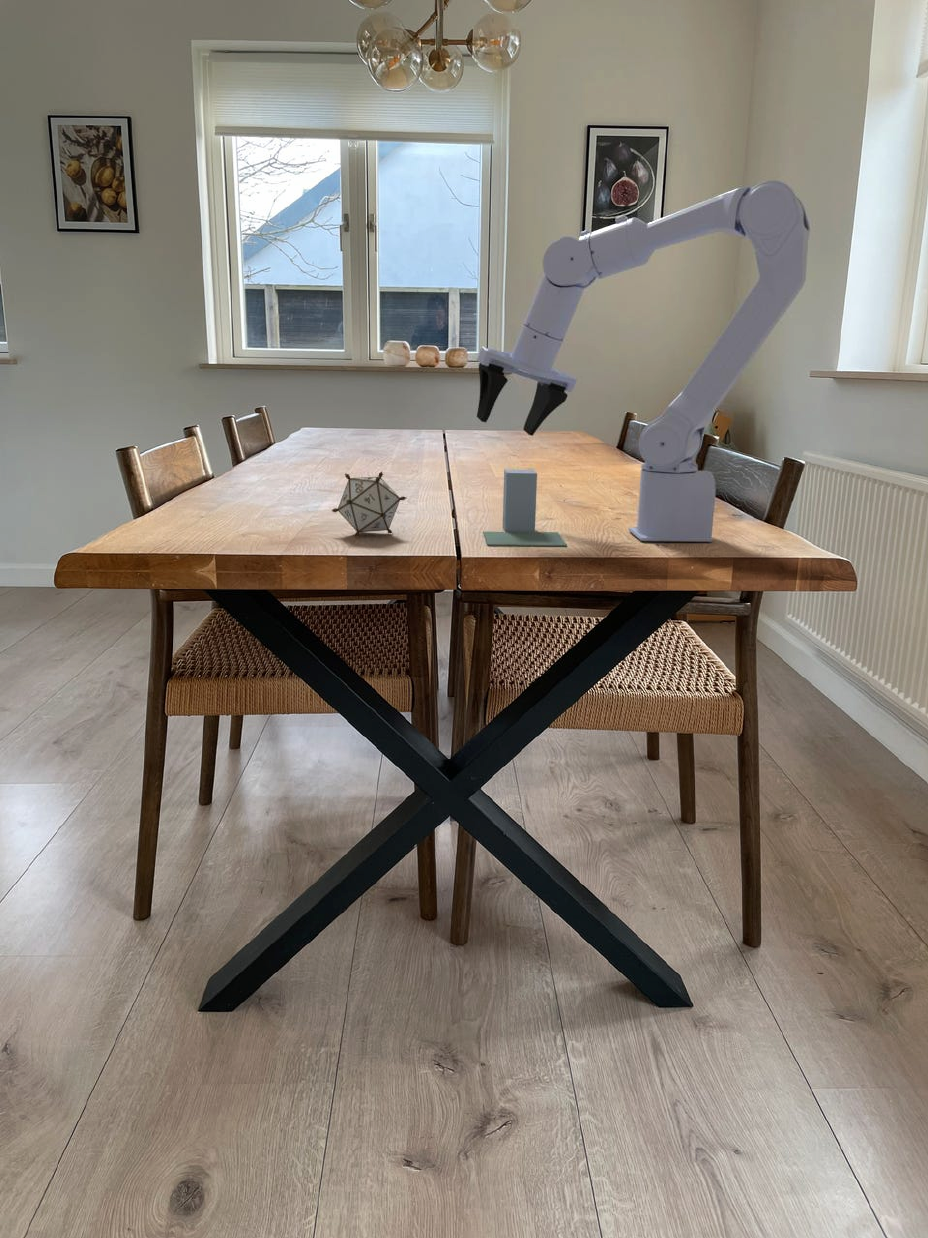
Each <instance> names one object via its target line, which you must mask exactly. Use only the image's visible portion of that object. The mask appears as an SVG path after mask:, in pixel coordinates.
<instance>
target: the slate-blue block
mask: <svg viewBox="0 0 928 1238" xmlns="http://www.w3.org/2000/svg"><path fill="white" fill-rule="evenodd" d="M537 484H538V473H537V471H535V469H511V468H510V469H507V468H506V469H504V470H503V497H502V498H503V499H502V529H503V532H504V531H505V532H536V511H537V510H536V509H537V487H538V485H537Z"/></svg>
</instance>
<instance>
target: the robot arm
mask: <svg viewBox="0 0 928 1238" xmlns="http://www.w3.org/2000/svg"><path fill="white" fill-rule="evenodd" d="M614 219H615V223H614V224H611V225H609V226H605V227H602V228H600V229H597V230H594V231H592V232H590V231H589V230H587V229H586V230H584V231H583V230H582V231H580V232H579V238H578V239H577V238H575V237H572V236H567V235H565V236H561V237H560V238H559V239H557V240H555V241H553V242H552V243H551V244H550V245H549V246H548V247H547V248H546V250H545V252H544V255H543V258H542V267H543V272H544V273H543V275H542V277H541V280H540V283H539V285H538V288H537V290H536V292H535V293H534V297H533V299H532V303H531V305H530V307H529V310H528V312H527V315H526V317H525V319H524V322H523V324H522V327H521V330H520V332H519V334H518V338H517V339H516V342H515V344H514V347H513V349H512V352H511V353H509V352H505V351H501V350H496V349H493V348H488V347H485V346H481V348H480V351H479V352H478V355H477V359H476V360H477V361H478V363H479V364H478V373H479V399H478V400H479V401H478V406H477V407H478V408H477V413H476V418H477V419H478V420H480V422H482V423H485V424H486V423H487V422H488V420H489V418H490V416H491V413H492V411H493V409H494V405H495V403H496V400H498V397H499V395H500V393H501V392H502V390H503V388H504V387H505V385H506V384H507V383H508V381H509V379H508V378H507V377H506V376H505V372H509V373H511V374H514V375H518V376H521V377H524V378H527V379H529V380H533V381H537V384H536V391H535V393H534V398H533V401H532V404H531V408H530V410H529V412H528V415H527V416H526V419H525V422H524V424H523V431H524V432H525V433H527V435H529V436H531V437H532V436H534V434H535V433H536V431H537V430H538V429H539V428H540V426H541V425H542V423H543V422H544V421H545V420H546V419H547V418H548V416H549V415H550V414H551V413H552V412H553V411H554V410H556V409H557V408H558V407H560V406H561V405H562V404H563V403H565V402H566V401H567V398H568V394H567V393H566V392H568V393H571V394H572V393H573V390H574V388H575V385H576V384H577V381H578V380H577V378H576V377H574V376H573V375H571V374H568V373H566V372H563V371H560V370H557V369H555V368H553V365H554V363H555V361H556V358H557V356H558V353H559V351H560V349H561V346H562V344H563V341H564V339H565V336H566V334H567V332H568V329H569V327H570V324H571V322H572V320H573V317H574V315H575V313H576V311H577V308H578V305H579V302H580V300H581V297H582V295H583V293H584V290H585V289H587V288H588V287H590V286H591V285H593V283H594V282H595V281H596V280H597V279H598V280H600V279H605V278H607V277H610V276H613V275H617V274H619V273H620V274H621V273H622V272H625V271H628V270H632V269H635V268H637V267H640V266H644V265H646V264H647V263H648V262H649V260H650V259H651V257H652V255H653V254H654V252H655V251H656V250H659V249H662V248H666V247H669V246H673V245H676V244H680V243H683V242H687V241H691V240H693V239H696V238H700V237H702V236H703V237H704V236H707V235H711V234H714V233H718V232H719V233H724V234H728V235H733V236H738V237H741V238H746V237H747V238H748V240H749V241H750V243H751V244H752V246H753V249H754V255H755V258H756V259H755V260H756V263H757V264H756V265H757V269H758V274H759V276H758V277H759V278H758V280H757V281H756V282H755V284H754V286H753V287H752V288H751V290H750V292H749V293H748V294H747V296H746V298H745V299H744V300H743V302H742V303H741V305H740V306H739V307H738V309H737V310H736V312H735V313H734V314H733V316H732V318H731V319H730V321H729V322H728V324H727V325H726V327H725V328H724V330H723V331H722V333H721V334H720V336H719V337H718V338H717V340H716V341H715V343H714V345H712V347H711V349H710V350H709V352H708V353H707V355H706V356H705V358H704V359H703V361H701V363H700V365H699V366H698V368H697V369H696V371H695V372H694V374H693V375H692V377H691V378H690V379H689V381H688V382H687V384H686V385H685V387H684V388H683V390H682V391H681V392H680V393H679V395H677V397H676V398H674V400H672V402H670V403H669V404H668V406H667V407H666V409H665V410H664V412H663V413H661V415H660V416H659V417H658V418H656V419H654V420H653V421H650V422H649V423H648V424H646V425H645V427H644V428H643V429H642V431H641V432H640V434H639V435H640V436H639V439H638V451H639V454H640V456H641V458H642V459H643V461H644V463H642V464H641V465H640V466H641V469H640V477H639V480H640V481H639V490H638V491H639V492H638V493H639V494H638V508H637V509H638V510H637V524H636V526H630V527H628V531H629V532H630V533H631V534H633V536H635V537H636V538H637V539H638V540H640V541H641V542H702V543H703V542H704V543H705V542H707V543H708V542H709V543H711V542H713V541H714V538H713V526H714V525H713V524H714V516H715V515H714V513H715V505H716V504H715V503H716V479H715V477H714V474H713V472H711V471H709V470H698V469H699V468H698V467H699V465H698V464H697V462H696V460H695V459H694V458H695V457H696V456H697V454H698V453H699V452H700V451H701V448H702V446H703V438H704V434H705V432H706V430H707V428H708V426H709V425H710V424H711V423H712V420H713V417H714V416H715V412H716V411H717V409H718V407H719V406H720V405H721V403H722V402H723V400H724V399H725V398H726V396H727V395H728V393H729V392H730V390H731V389H732V388H733V386H734V385H735V384H736V382H737V381H738V379H739V378H740V376H741V375H742V374H743V372H744V371H745V369H746V368H747V367H748V365H749V363H750V362H751V361H752V360H753V358H754V357H755V355H756V354H757V352H758V351H759V350H760V348H761V347H762V346H763V344H764V342H765V341H766V339H767V338H768V337H769V335H771V333H772V331H773V330H774V328H775V327H776V326H777V324H778V323H779V321H780V319H782V317H783V316H784V314H785V313H786V311H787V310H788V309H789V307H790V306H791V304H792V303H793V302H794V300H795V299H796V297H797V296H798V295H799V293H800V292H801V290H802V288H803V287H804V284H805V282H806V276H807V263H808V249H809V240H810V239H809V238H810V233H811V227H810V223H809V220H808V216H807V213H806V208H805V206H804V204H803V202H802V200H800V198H799V197H798V196H797V195H796V193H795V192H794V190H793V189H792V187H790V186H789V185H788V184H786V183H785V182H783V181H781V180H775V179H774V180H773V179H772V180H771V179H770V180H765V181H763V182H760V183H757V184H756V185H754V186H753V187H751V186H750V185H749V186H748V185H747V186H741V187H738V188H735V189H733V190H730V191H727V192H724V193H722V194H719V195H717V196H714V197H711V198H709V199H707V200H704V201H702V202H699V203H696V204H693V205H692V206H689V207H686V208H684V209H681V210H679V211H677V212H674V213H672V214H669V215H667V216H663V217H661V218H659V219H656V220H653V221H651V222H649V223H647V222H645V221H643V220H641V219H640V218H638V217H635V216H634V217H631V218H629V217H628V216H626V215H620V216H618V217H615V218H614ZM504 371H505V372H504Z"/></svg>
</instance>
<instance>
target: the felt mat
mask: <svg viewBox="0 0 928 1238" xmlns="http://www.w3.org/2000/svg"><path fill="white" fill-rule="evenodd" d="M483 534H484V535H483ZM482 535H483V538H484V537H485V538H484V539H485V540H486V541H485V540H484V541H485V543H486V546H487V547H561V548H562V547H568V544H567V542H565V540H564V539H563V537H562V536H561V535H560V534H559V532H557V531H555V532H554V531H553V532H552V531H549V532H548V531H535V532H504V531H482Z"/></svg>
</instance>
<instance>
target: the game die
mask: <svg viewBox="0 0 928 1238" xmlns="http://www.w3.org/2000/svg"><path fill="white" fill-rule="evenodd" d="M344 476H345V478H346V479H347V480H348V481H347V483H346V485H345V488H344V491H343V495H342V496H341V499H340V501H339V502H340V503H339V505H338V507H335V508H333V509H332V510H331V513H332V512H333V513H337V512H339V514H340V515H341V516H342V517H343V519H345V520H346V521H347V523H349V525H350V526H351V527H352V528H353V529H354V530H355V531H356V532H355V534H354V538H355V537H357V536H358V537H359V535H360V533H368V532H369V533H370V532H372V533H373V532H382V531H387V533H388V534H389V533H392V534H393V531H392V529H390V527H391V524H392V522H393V519H394V517H395V514H396V511H397V509H398V507H399V505H400V502H401V501H405V500H406V499H407V497H406V496H404V495H403V496H401V497H400V496H399V495H398V494H397V492H395V491H394V490H393V489H392V488H391V487H390V485H388V483H387V482H386V481H385V480H384V479H383V478H382V477H383V476H384V474H383V471H381V472H379V473H378V476H366V477H365V476H364V477H351V476H350V474H348V473H344ZM358 537H357V538H358Z"/></svg>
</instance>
